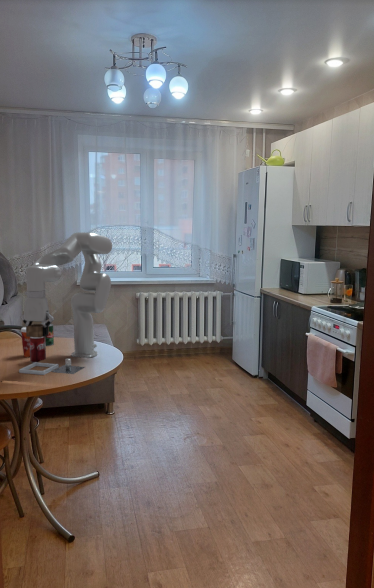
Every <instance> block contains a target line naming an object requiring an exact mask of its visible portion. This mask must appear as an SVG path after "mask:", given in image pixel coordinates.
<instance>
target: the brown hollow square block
mask: <svg viewBox="0 0 374 588" xmlns="http://www.w3.org/2000/svg"><path fill="white" fill-rule="evenodd" d="M25 327H26V337H43V327H44V326H43V324H42V323H32V325H29V326H26V325H25ZM48 335H49V326H48Z"/></svg>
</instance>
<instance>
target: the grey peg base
mask: <svg viewBox="0 0 374 588" xmlns="http://www.w3.org/2000/svg"><path fill="white" fill-rule="evenodd" d="M64 361H65V364H64V365H61V366H59V367H58V368H56V369H54V370H52V371H50V373H57V374H58V373H59V374H67V375H74V374H76V373H78V372H80V371H81V370H83V369H86V366H78V365H77V366H76V365H72V358H69V357H68V358H65V360H64Z"/></svg>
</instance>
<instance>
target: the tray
mask: <svg viewBox="0 0 374 588" xmlns="http://www.w3.org/2000/svg"><path fill="white" fill-rule="evenodd" d="M34 367H45V369H44V370H36V369H32V368H34ZM59 367H60V366H59V363H48V362H35V363H31V364H28V365H25V366H23V367H22V368H20V369H19V370H18V372H19V374H29V375H30V374H31V375H43V376H45V375H46V374H48V373H51V371H53V370H55V369H57V368H59Z"/></svg>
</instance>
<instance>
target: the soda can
mask: <svg viewBox="0 0 374 588" xmlns="http://www.w3.org/2000/svg"><path fill="white" fill-rule="evenodd" d="M29 342H30V357H29V359H30V362H31V364H33V363H35V362H37V363H40V362H42V361H44V360H46V359H47V346H46V342H45V337H30V338H29Z"/></svg>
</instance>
